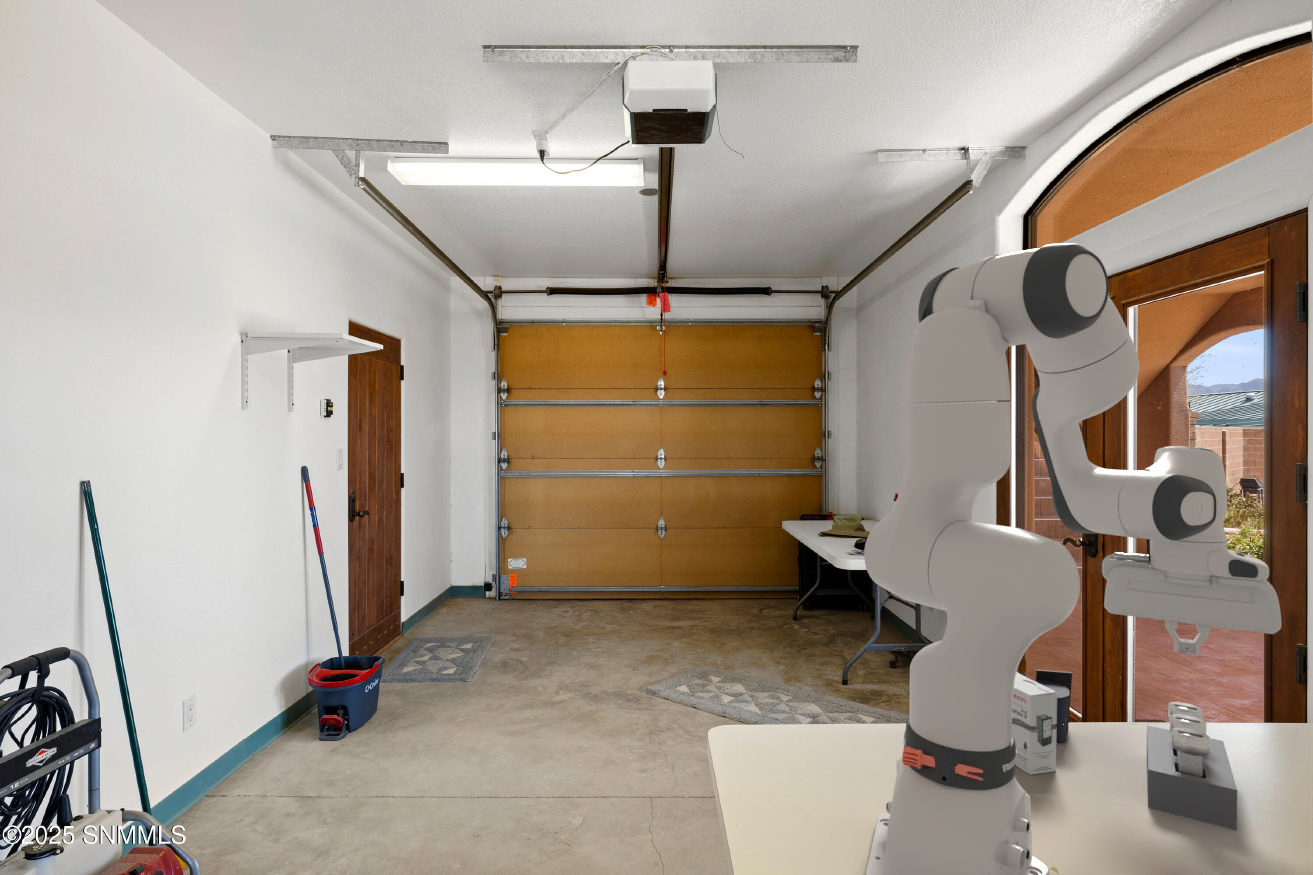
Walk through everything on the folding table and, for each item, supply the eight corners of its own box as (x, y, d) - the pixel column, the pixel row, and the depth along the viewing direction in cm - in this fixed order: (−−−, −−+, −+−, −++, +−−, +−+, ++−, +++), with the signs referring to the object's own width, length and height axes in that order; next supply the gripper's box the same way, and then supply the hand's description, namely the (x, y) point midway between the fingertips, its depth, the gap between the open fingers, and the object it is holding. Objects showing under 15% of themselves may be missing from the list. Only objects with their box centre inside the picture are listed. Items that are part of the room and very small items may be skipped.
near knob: (1210, 782, 88) (1211, 742, 88) (1171, 773, 90) (1172, 734, 90) (1208, 769, 91) (1208, 731, 91) (1170, 761, 93) (1170, 724, 93)
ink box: (987, 749, 107) (987, 673, 107) (1013, 745, 108) (1014, 671, 108) (1030, 775, 99) (1030, 694, 99) (1058, 771, 100) (1059, 691, 100)
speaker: (1029, 720, 117) (1032, 662, 116) (1068, 730, 114) (1072, 671, 113) (1024, 741, 111) (1028, 680, 110) (1065, 752, 108) (1070, 689, 107)
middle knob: (1207, 765, 92) (1207, 727, 92) (1170, 757, 94) (1170, 720, 94) (1204, 754, 95) (1205, 717, 95) (1168, 746, 98) (1169, 711, 98)
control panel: (1236, 829, 85) (1237, 790, 85) (1148, 806, 91) (1148, 769, 91) (1222, 775, 99) (1223, 740, 99) (1146, 757, 105) (1146, 725, 105)
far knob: (1203, 750, 97) (1204, 714, 97) (1168, 742, 99) (1168, 707, 99) (1201, 740, 100) (1202, 705, 100) (1167, 733, 102) (1167, 698, 102)
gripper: (1101, 553, 103) (1100, 645, 103) (1284, 569, 91) (1283, 673, 91) (1102, 547, 108) (1102, 635, 108) (1276, 562, 96) (1275, 660, 96)
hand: (1186, 652), depth 99 cm, fingers closed
